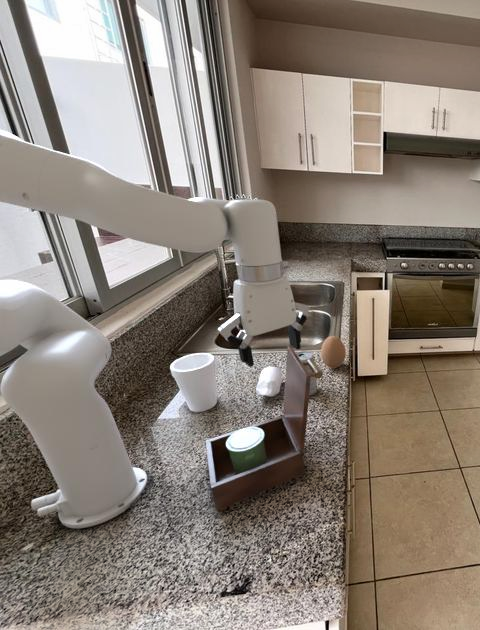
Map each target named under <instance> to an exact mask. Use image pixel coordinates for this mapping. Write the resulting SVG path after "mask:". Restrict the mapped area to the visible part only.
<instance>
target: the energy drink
mask: <svg viewBox="0 0 480 630" xmlns="http://www.w3.org/2000/svg"><path fill="white" fill-rule="evenodd" d="M296 354H297V356H298V357H299V359H300V360H301V362H307V360H309V359H313V360H314V361H315V355H314V354H313V352H311V351H307V350H306V351H305V350H304V351H299V352H296ZM305 368H306V369H307V371H308V372H309V373H312V372H311V370H310V369H309V367H308V366H305ZM315 393H318V382H317V378H316V377H311V379H310V390H309V396H312V395H314V394H315Z"/></svg>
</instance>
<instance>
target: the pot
mask: <svg viewBox="0 0 480 630" xmlns="http://www.w3.org/2000/svg"><path fill="white" fill-rule="evenodd" d="M246 427H247V428H245V427H242V428H243V429H242V428H240V430H239V429H237V430H238V431H236V430H235V431H236V432H235V433H233V434H232V435H231V436H230V437H229V438H228V439H227V441H226V448H227V450H228V451H229V454H230V458H231V462H232V467H233V471H234V475H238V474H240V473H243V472H245V471H248V470H251V469H253V468H256V467H258V466H261V465H263V464H266V463H268V458H267V452H266V447H265V441H264V438H265V434H264V431H263V430H262V429H260V428H258V427H249V426H246Z"/></svg>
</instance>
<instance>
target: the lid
mask: <svg viewBox="0 0 480 630" xmlns="http://www.w3.org/2000/svg"><path fill="white" fill-rule="evenodd" d="M305 366H308V367H309V369H310V370H311V372H312V373H309V372H308V371H307V369H306V368H305ZM323 375H324V374H323V371H322V370H321V368H320V367H319V366H318V364H317V363H316V362H315V359H314V360H313V359H309V360H307V362H301V360H300V359H299V357H298V356H297V352H296V351H295V349H294V347H292V346H291V345H290V346H287V349H286V366H285V378H284V379H285V381H284V393H283V408H282V409H283V410H282V415H284V416H285V419H286V421H287V423H288V425H289V427H290V430H291V432H292V434H293V436H294V439H295V441H296V443H297V445H298V448H299V450H300V451H302V452H303V451H305V444H306V432H307V424H308V423H307V422H308V411H309V401H310V400H309V399H310V395H309V390H310V379H311V377H316V379H321V378H322V377H323Z"/></svg>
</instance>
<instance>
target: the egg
mask: <svg viewBox="0 0 480 630" xmlns="http://www.w3.org/2000/svg"><path fill="white" fill-rule="evenodd" d="M346 353H347V352H346V347H345V344H344V342H343V341H342V340H341V339H340V337H338V336H336V335H330V336H328V337H327V338H325V339H324V341H323V343H322V345H321V349H320V356H321V361H322V362H323V363H324V364H325V366H326V367H328V368H331V369H337V368H339V367H341V366H342V365H343V364H344V362H345V361H346V360H345V359H346V355H347V354H346Z"/></svg>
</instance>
